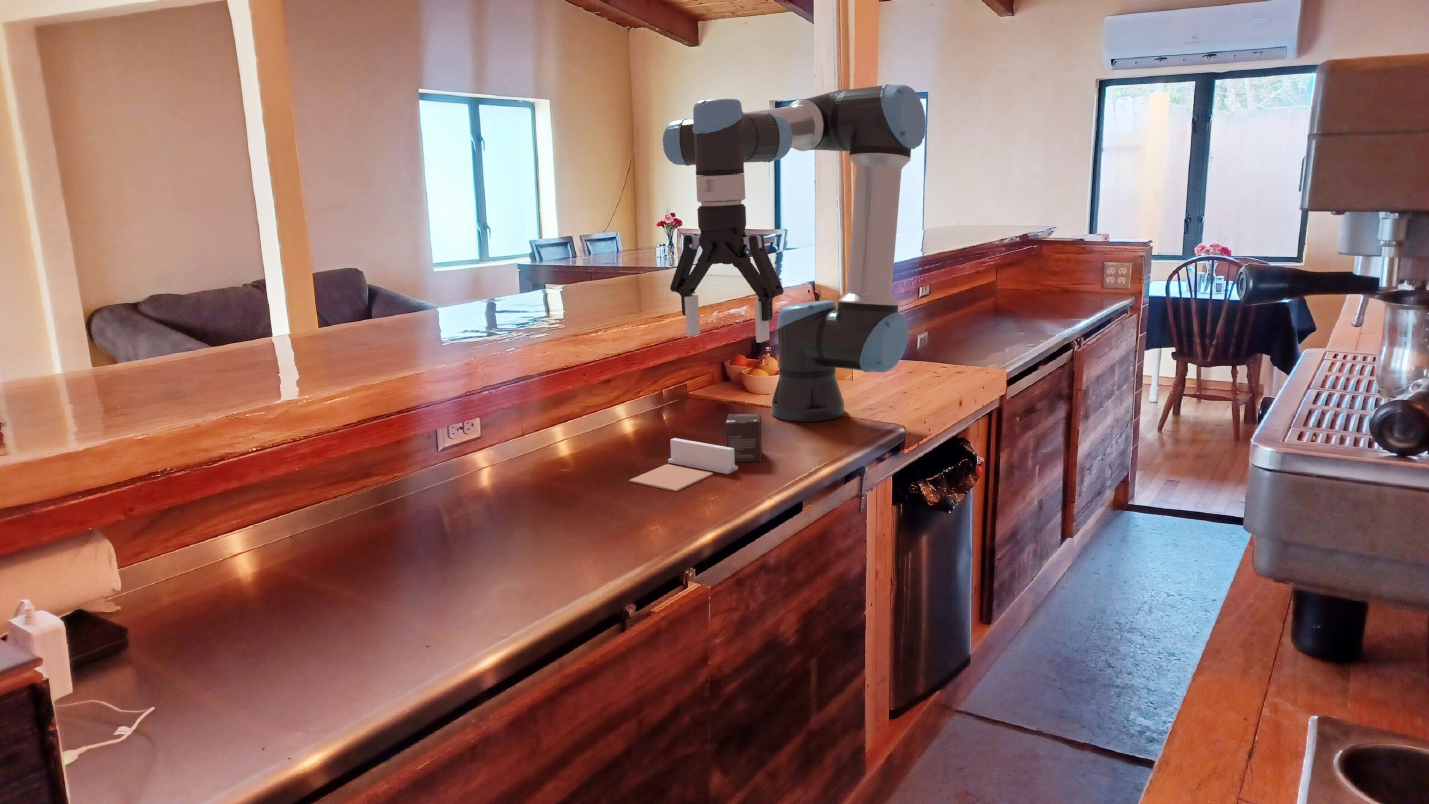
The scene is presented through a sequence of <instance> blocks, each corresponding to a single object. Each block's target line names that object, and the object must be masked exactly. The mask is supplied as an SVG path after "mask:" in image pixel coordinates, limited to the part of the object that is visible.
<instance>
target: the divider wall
mask: <svg viewBox="0 0 1429 804" xmlns="http://www.w3.org/2000/svg"><path fill="white" fill-rule="evenodd" d="M669 443H670V444H669V445H670V458H668V459H667V464H672V465H673V464H674V465H677V466H682V467H688V468H693V469H695V468H696V469H698V470H703V471H708V472H710V471H711V472H716V473H721V474H724V475H725V474H726V475H728V474H730V473H733V472H735V471H737V470H738V469H739V466H738V465H736V463H735V462H736V461H735V459H734V448H730V447H727V446H723V445H716V444H711V443H705V442H702V441H701V442H699V441H694V440H689V439H682V438H678V437H674V438H671V439H670V441H669Z"/></svg>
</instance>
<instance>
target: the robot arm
mask: <svg viewBox="0 0 1429 804" xmlns="http://www.w3.org/2000/svg"><path fill="white" fill-rule="evenodd" d="M692 112H693V113H692V114H693V116H692V117H693V118H690V119H689V118H682V119H680V120H674V121H672V122H670V123H669V124H668V125H667V126H666V127H665V129H664V132H663V134H662V147H663V148H662V149H663V152H664V155H665V157H666V158H667V160H668V161H669V162H670V163H671V164H674V165H678V166H686V167H689V166H695V181H696V183H695V185H696V201H697V202H698V203H700V205H699V206H698V208H697V226H698V229H699V230H700V234H699V235H698V234H697V233H692V234H687V235H683V242H682V244H683V245H682V246H683V247H682V251H681V254H680V258H679V260H678V264H677V266H676V269H675V272H674V274H673V278H672V281H671V283H670V287H669V289H670V291H671V292H673V293H677V294H679V296H680V301H681V303H680V304H681V314H682V315H683V316H685V331H686V334H685V335H686V337H689V338H690V337H694V336H697V335H701V329H700V327H701V326H700V309H699V308H700V307H699V305H700V304H699V295H698V294H696V293H697V292H696V289H697V288H698V286H699V285H700V283H701V282H702V280H703V279H704V277H705V276H706V275H707V272H708V271H709V270H710V268H711V267H712V266H713V265H718V264H723V265H731V264H732V266H733V267H734V268H736V269H737V270H738V271H739V272H740V274H741V275H742V277H743V278H744V279H745V281H746V282H747V284H748V285H749V286H750V288H751V290H752V291H753V292H754V294H755V295H756V296H757V300H754V316H755V317H754V318H755V340H756V341H755V342H756V343H763V342H767V341H769V340H770V320H773V317H774V314H773V313H774V311H773V310H774V309H773V300H774V298H776V297H779V296H781V295H783V294H784V287H783V285H782V283H781V280H780V279H779V276H778V274H777V272H776V270H775V267H774V265H773V264H772V261H771V259H770V256H769V254H768V252H767V250H766V244H765V239H764V238H765V237H764V236H763V234H761V233H760V234H755V235H750V236H747V235H746V226H747V210H746V205H745V204H744V203H742V201H745V199H746V181H745V163H771V162H773V161H779V160H781V159H783V158H784V157H785V156H786V155H788V153H789V152H790V149H794V150H797V151H799V152H807V151H829V152H830V151H833V152H849V154H848V159H849V160H850V161H851V162H852V164H853V165H854V166H855V168H856V169H855V180H854V191H853V192H854V193H853V206H852V208H853V209H852V218H851V233H850V245H849V247H850V248H849V260H848V271H847V287H846V293H845V294H844V295H842V296H841V297H840V298H839V299H838V301H837V306H836V302H835V301H834V300H829V299H828V300H817V301H809V302H801V303H796V304H795V303H794V304H790V305H786V306H784V307H782V308H781V309H780V310H779V312H778V321H777V327H776V328H777V329H776V330H777V339H778V340H777V342H778V371H779V372H778V375H779V376H778V381H777V384H776V387H775V391H774V394H773V397H772V401H771V415H772V416H774V417H775V418H777V419H781V420H784V421H790V422H791V421H792V422H803V423H804V422H805V423H806V422H823V421H827V420H829V421H830V420H833V419H834V420H835V419H836V418H839V417H841V416H843V415H844V414H845V401H844V398H843V395H842V392H841V388H840V386H839V383H838V380H837V375H836V368H837V369H844V370H845V369H846V370H854V371H863V372H864V373H886V372H888V371H890V370H892V369H893V368H895V366H897V365H898V363H899V361H900V360H901V359H902V357H903V356H904V353H905V351H906V347H907V344H908V340H909V326H908V325H907V324H908V321H907V319H906V317H905V316H904V314H903V315H902V314H901V313H900V312H899V303H898V301H896V299H895V298H894V296H893V295H892V293H893V291H892V290H893V279H894V278H893V277H894V266H895V264H894V263H895V254H896V253H895V252H896V242H897V241H896V240H897V229H898V216H899V206H900V205H899V204H900V202H899V201H900V193H901V183H902V182H901V179H902V169H903V168H905V166H906V165H907V164H908V163H910V161H911V157H912V150H915V149H916V148H918V147H920V146H921V144H922V143H923V140H924V138H925V135H926V127H927V126H926V125H927V124H926V123H927V122H926V114H925V110H924V105H923V103H922V101H921V98H920V96H919V95H918V93H917V92H916V91H915V89H914V88H912V87H911V86H909V85H905V84H884V85H876V86H867V87H859V88H858V87H857V88H851V89H848V88H847V89H846V88H845V89H839V90H834V91H830V92H826V93H823V94H819V95H816V96H811V97H808V98H803V99H802V98H801V99H797V100H795V101H793V102H791V103H790V104H789V105H788V106H784V107H782V106H781V107H778V108H777V107H775V108H769V109H767V108H766V109H760V110H751V111H745V112H743V107H742V102H741V101H740V100H739V99H736V98H714V99H705V100H704V99H703V100H700V101H699V100H698V101H696V102H695V104H694V106H693V111H692ZM699 248H701V250H702V252H701V254H700V255H699V257H698V258H697V260H695V259H696V256H697V253H698V251H699ZM746 248H747V249H748V250H749V251H750V255H751V257H752V259H753V260H751V257H750V256H749V255H748V253H747V252H746ZM694 261H696V264H695V266H694V267H693V265H694ZM752 261H753V262H754V264H755V265H754V264H753V262H752ZM692 268H693V269H692ZM836 308H837V309H836Z"/></svg>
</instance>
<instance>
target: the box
mask: <svg viewBox="0 0 1429 804" xmlns="http://www.w3.org/2000/svg"><path fill="white" fill-rule="evenodd" d="M761 414H762V413H728V415H727V419H726V421H725V438H726V439H725V440H726V447H730V448H734V459H735V462H761V461H762V454H763V442H762V441H763V440H762V438H763V437H762V436H763V435H762V415H761Z"/></svg>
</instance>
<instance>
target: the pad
mask: <svg viewBox="0 0 1429 804" xmlns="http://www.w3.org/2000/svg"><path fill="white" fill-rule="evenodd" d="M713 475H714V472H712V471H711V472H710V471H707V470H702V469H695V468H691V467H686V466H681V465H676V464H674V465H673V464H671V463H666V464H664V465H662V466H659V467H657V468H654V469H651V470H649V471H647V472H644V473H642V474H640V475H638V476H635V477H633V478H631V479H629V480H628V481H629V483H634V484H639V485H644V486H649V487H654V488H657V489H663V490H667V491H673V492H679V491H680V490H683V489H685V488H687V487H689V486H691V485H693V484H695V483H698V482H700V481H702V480H704V479H706V478H709V477H711V476H713Z"/></svg>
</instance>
